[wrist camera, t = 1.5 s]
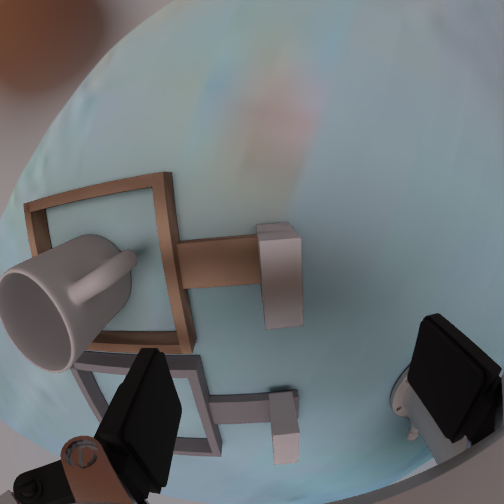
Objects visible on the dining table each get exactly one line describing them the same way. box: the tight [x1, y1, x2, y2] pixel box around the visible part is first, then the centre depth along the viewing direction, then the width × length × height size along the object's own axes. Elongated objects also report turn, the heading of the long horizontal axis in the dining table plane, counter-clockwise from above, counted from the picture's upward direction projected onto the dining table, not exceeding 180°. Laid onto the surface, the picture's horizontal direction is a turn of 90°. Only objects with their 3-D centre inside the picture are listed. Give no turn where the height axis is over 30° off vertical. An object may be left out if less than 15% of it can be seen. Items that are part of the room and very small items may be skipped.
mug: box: [0, 235, 137, 373], centre depth 19 cm, size 12×8×11 cm
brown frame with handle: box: [23, 172, 303, 354], centre depth 21 cm, size 16×26×7 cm, turn 95°
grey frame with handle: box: [70, 351, 300, 465], centre depth 25 cm, size 16×26×7 cm, turn 95°
